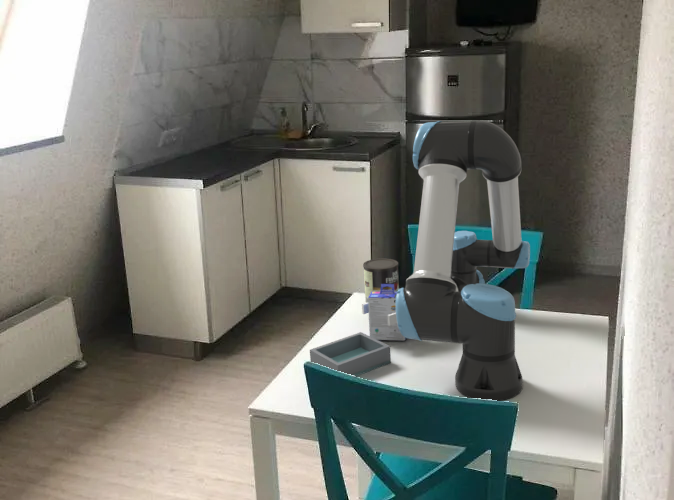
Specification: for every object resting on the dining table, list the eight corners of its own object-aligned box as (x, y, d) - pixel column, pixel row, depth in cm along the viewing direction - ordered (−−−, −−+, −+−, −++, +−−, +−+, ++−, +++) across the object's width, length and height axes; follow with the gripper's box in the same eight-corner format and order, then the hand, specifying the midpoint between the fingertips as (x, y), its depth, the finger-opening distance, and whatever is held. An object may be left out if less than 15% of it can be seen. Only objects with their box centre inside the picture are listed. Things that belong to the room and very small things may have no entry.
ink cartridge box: (408, 333, 200) (406, 282, 196) (406, 341, 195) (404, 289, 191) (372, 332, 202) (370, 282, 198) (369, 340, 197) (366, 289, 193)
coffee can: (406, 305, 221) (405, 260, 216) (387, 317, 213) (385, 271, 209) (378, 299, 227) (376, 256, 223) (358, 310, 219) (356, 265, 215)
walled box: (390, 362, 184) (390, 346, 183) (338, 382, 175) (337, 365, 174) (361, 347, 194) (360, 332, 192) (310, 366, 185) (309, 349, 184)
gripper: (467, 317, 198) (404, 340, 186) (411, 296, 216) (350, 316, 204) (467, 291, 196) (403, 313, 184) (410, 272, 214) (349, 290, 202)
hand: (375, 314), depth 194 cm, fingers closed on ink cartridge box, 10 cm apart
